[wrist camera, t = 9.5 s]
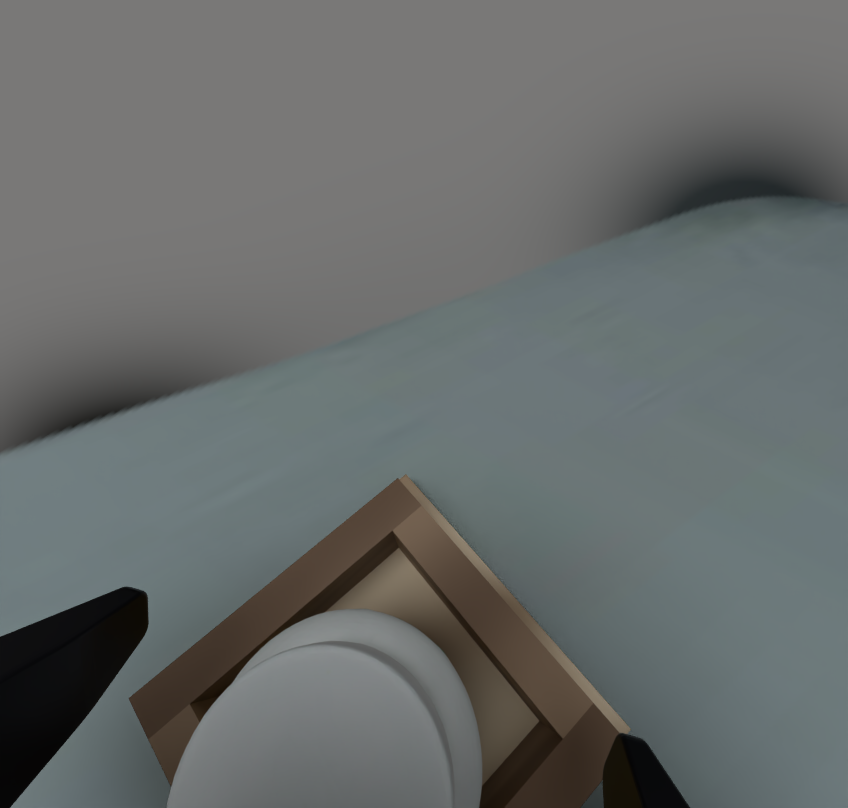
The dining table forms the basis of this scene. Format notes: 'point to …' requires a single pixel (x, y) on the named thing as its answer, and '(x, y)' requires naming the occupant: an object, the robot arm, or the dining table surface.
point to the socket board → (440, 621)
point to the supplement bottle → (337, 724)
